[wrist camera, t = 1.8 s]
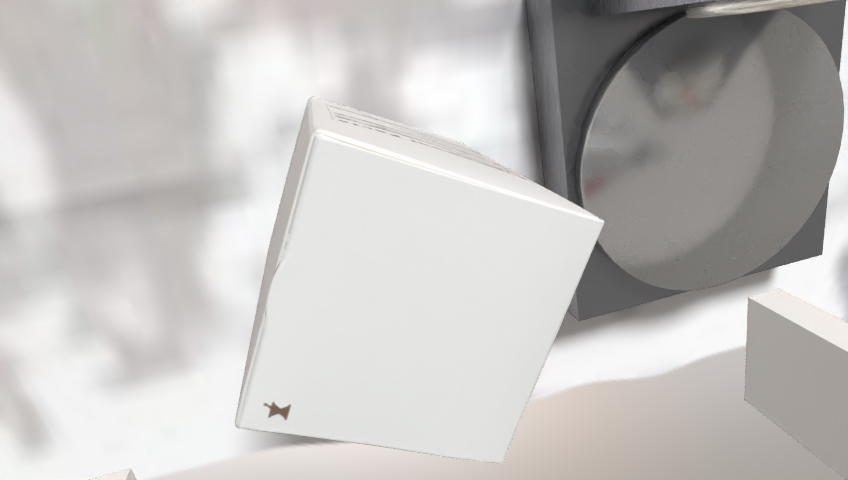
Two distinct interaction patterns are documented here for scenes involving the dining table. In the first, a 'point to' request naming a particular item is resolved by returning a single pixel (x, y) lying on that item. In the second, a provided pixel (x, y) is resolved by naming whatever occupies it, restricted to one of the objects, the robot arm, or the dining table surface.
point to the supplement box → (407, 291)
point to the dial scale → (688, 136)
